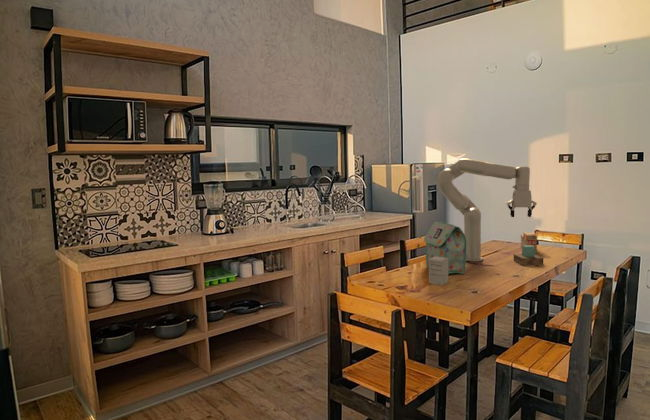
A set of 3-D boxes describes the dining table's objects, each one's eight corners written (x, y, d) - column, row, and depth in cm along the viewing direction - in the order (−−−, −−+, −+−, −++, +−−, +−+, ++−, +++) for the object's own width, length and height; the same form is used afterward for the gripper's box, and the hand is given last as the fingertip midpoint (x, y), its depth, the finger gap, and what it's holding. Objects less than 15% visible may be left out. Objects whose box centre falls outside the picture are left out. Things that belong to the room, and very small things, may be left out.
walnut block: (522, 265, 261) (522, 258, 261) (513, 261, 273) (513, 254, 273) (543, 264, 261) (543, 257, 261) (533, 260, 273) (533, 253, 273)
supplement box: (435, 280, 234) (435, 256, 232) (448, 282, 229) (448, 257, 228) (428, 283, 228) (428, 258, 227) (442, 285, 223) (442, 260, 222)
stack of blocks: (520, 247, 314) (520, 230, 313) (530, 248, 313) (530, 230, 312) (526, 253, 294) (526, 234, 292) (536, 254, 292) (537, 234, 291)
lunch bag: (422, 267, 263) (421, 221, 261) (447, 265, 267) (447, 219, 265) (441, 276, 241) (441, 226, 239) (469, 274, 245) (469, 224, 243)
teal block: (525, 257, 264) (525, 246, 264) (522, 255, 269) (522, 245, 269) (534, 256, 264) (534, 246, 264) (530, 255, 269) (530, 245, 269)
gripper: (509, 188, 264) (508, 217, 266) (539, 188, 264) (538, 217, 266) (504, 187, 272) (503, 216, 273) (534, 187, 271) (533, 216, 273)
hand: (520, 216), depth 269 cm, fingers open, 9 cm apart
